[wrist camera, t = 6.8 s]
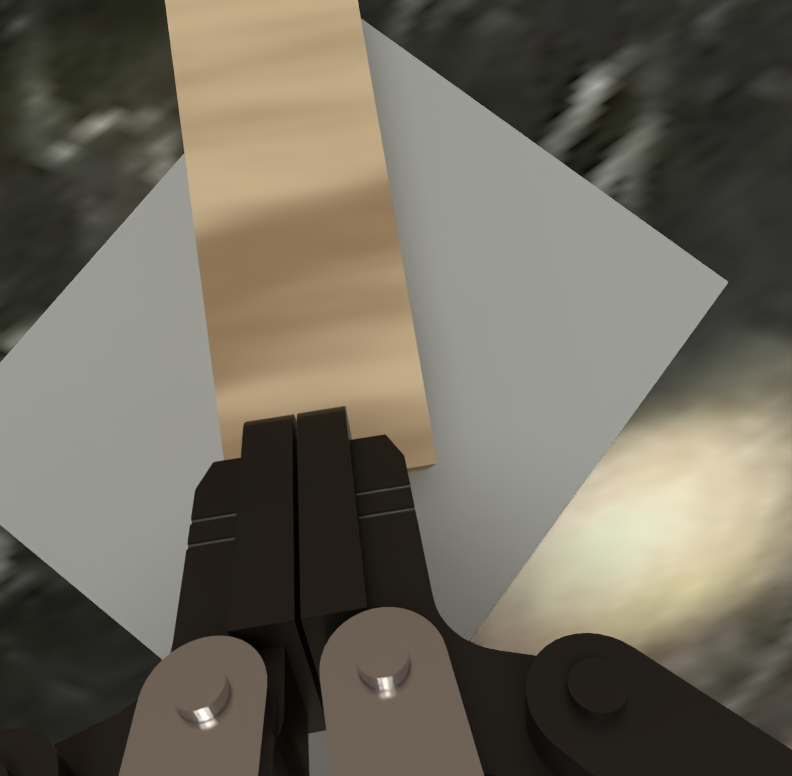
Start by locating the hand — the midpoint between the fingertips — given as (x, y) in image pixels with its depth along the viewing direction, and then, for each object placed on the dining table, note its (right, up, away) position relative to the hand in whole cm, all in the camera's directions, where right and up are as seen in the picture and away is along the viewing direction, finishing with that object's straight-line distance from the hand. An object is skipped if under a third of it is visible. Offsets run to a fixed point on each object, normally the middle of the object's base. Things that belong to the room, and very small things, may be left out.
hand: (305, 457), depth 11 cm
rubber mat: (0, +2, +10) cm, 10 cm away
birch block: (0, -1, +7) cm, 7 cm away
